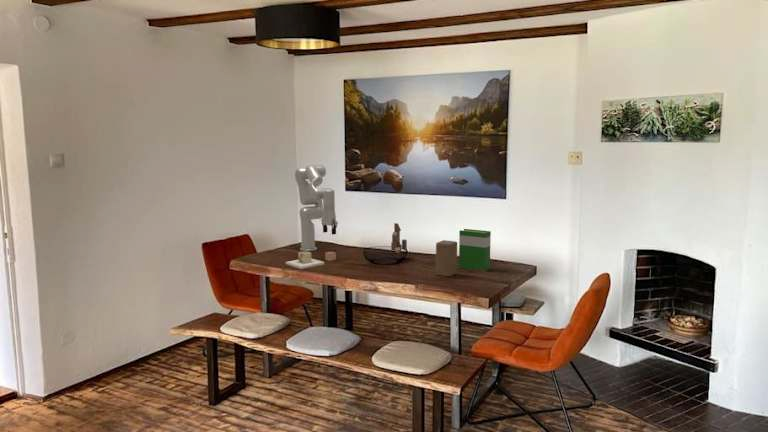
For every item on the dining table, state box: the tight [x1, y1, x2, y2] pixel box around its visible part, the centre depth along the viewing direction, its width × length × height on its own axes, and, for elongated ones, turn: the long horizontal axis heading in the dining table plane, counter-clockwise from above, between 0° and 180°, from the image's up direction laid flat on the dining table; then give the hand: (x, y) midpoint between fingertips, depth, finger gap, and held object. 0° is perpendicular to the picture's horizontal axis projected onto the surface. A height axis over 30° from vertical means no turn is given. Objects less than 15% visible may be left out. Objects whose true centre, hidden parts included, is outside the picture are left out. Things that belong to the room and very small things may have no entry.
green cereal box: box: [458, 228, 491, 271], centre depth 351 cm, size 18×7×24 cm, turn 57°
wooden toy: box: [390, 222, 408, 259], centre depth 375 cm, size 16×7×25 cm, turn 157°
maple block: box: [297, 251, 312, 263], centre depth 366 cm, size 6×6×6 cm
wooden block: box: [435, 239, 458, 277], centre depth 336 cm, size 10×10×20 cm
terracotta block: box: [324, 251, 337, 262], centre depth 379 cm, size 5×5×5 cm
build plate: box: [285, 257, 325, 270], centre depth 366 cm, size 18×18×2 cm
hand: (329, 233), depth 376 cm, fingers open, 9 cm apart
